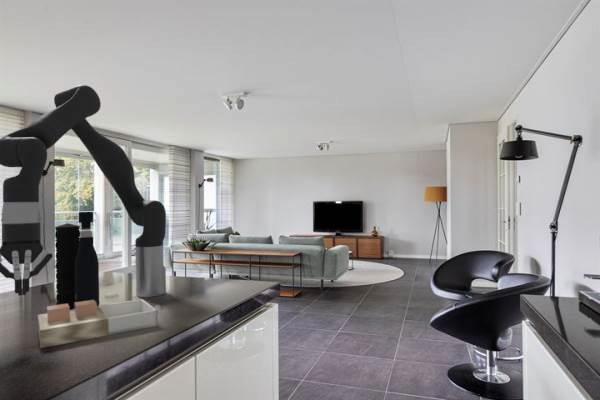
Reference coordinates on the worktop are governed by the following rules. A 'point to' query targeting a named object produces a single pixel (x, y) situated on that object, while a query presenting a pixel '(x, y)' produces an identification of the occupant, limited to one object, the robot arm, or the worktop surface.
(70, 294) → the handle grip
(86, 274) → the wine bottle
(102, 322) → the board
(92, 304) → the tile
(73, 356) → the worktop surface
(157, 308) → the chef's knife
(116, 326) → the tray
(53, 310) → the tile
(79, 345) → the worktop surface
